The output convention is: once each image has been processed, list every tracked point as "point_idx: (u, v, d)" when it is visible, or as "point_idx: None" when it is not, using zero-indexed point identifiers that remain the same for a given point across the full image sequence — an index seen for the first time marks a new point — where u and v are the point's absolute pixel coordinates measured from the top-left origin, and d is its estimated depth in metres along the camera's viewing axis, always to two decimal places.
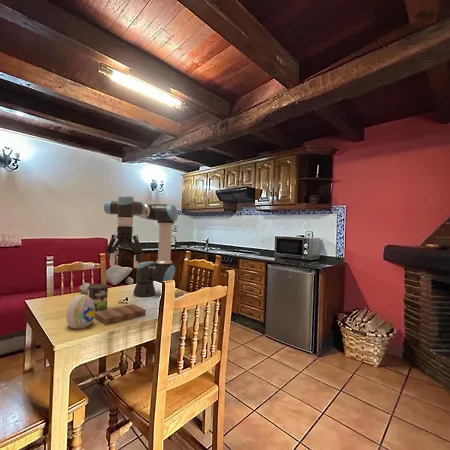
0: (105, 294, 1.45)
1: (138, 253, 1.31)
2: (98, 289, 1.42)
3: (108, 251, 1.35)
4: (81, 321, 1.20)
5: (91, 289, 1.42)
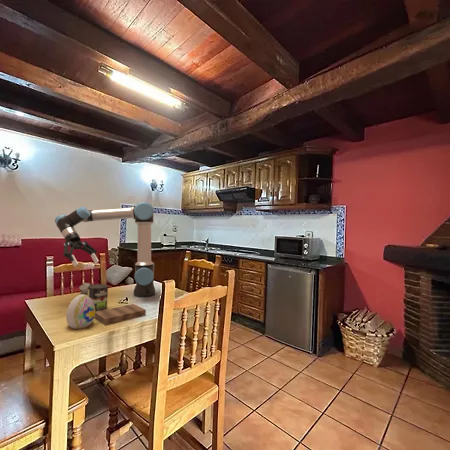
0: (105, 294, 1.45)
1: None
2: (98, 289, 1.42)
3: None
4: (81, 321, 1.20)
5: (91, 289, 1.42)
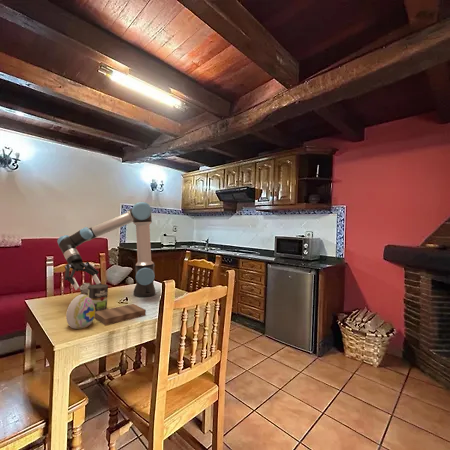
0: (105, 294, 1.45)
1: None
2: (98, 289, 1.42)
3: None
4: (81, 321, 1.20)
5: (91, 289, 1.42)
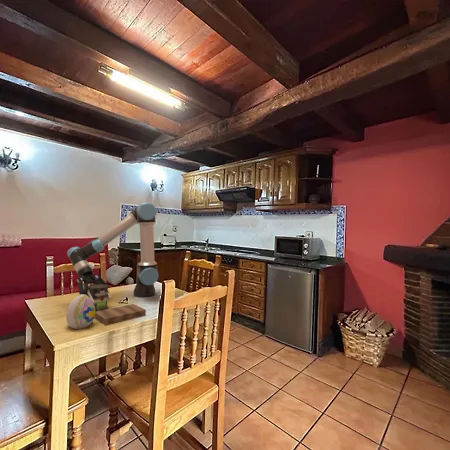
0: (105, 294, 1.45)
1: None
2: (98, 289, 1.42)
3: None
4: (81, 321, 1.20)
5: (91, 289, 1.42)
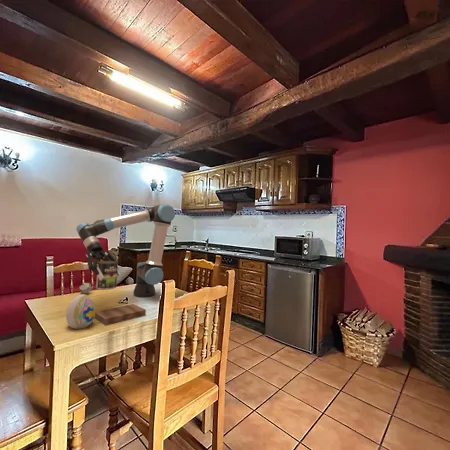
0: (115, 270, 1.41)
1: None
2: (107, 264, 1.38)
3: None
4: (81, 321, 1.20)
5: (101, 265, 1.37)
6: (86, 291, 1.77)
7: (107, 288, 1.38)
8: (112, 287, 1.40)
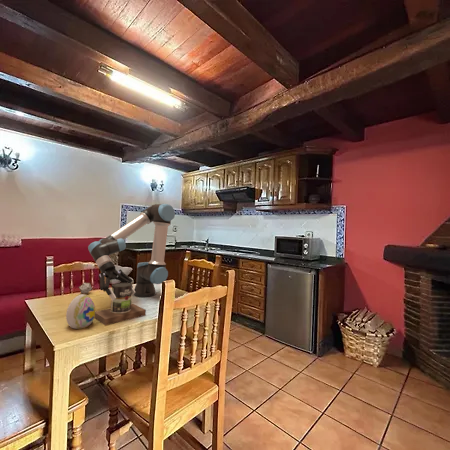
0: (129, 293, 1.39)
1: None
2: (123, 288, 1.35)
3: None
4: (81, 321, 1.20)
5: (116, 288, 1.35)
6: (86, 291, 1.77)
7: (122, 312, 1.35)
8: (127, 310, 1.37)
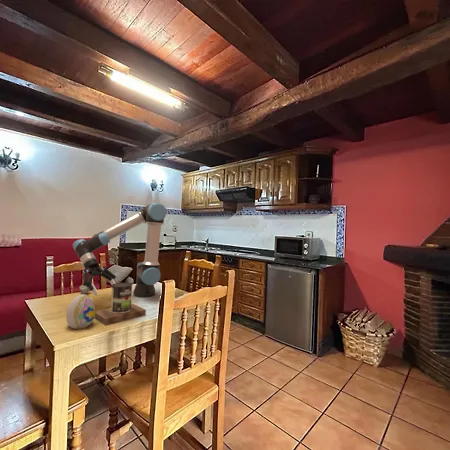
0: (129, 293, 1.39)
1: None
2: (123, 288, 1.35)
3: None
4: (81, 321, 1.20)
5: (116, 288, 1.35)
6: (86, 291, 1.77)
7: (122, 312, 1.35)
8: (127, 310, 1.37)
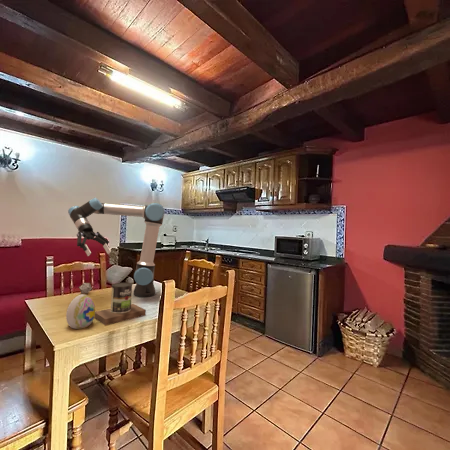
0: (129, 293, 1.39)
1: None
2: (123, 288, 1.35)
3: None
4: (81, 321, 1.20)
5: (116, 288, 1.35)
6: (86, 291, 1.77)
7: (122, 312, 1.35)
8: (127, 310, 1.37)
